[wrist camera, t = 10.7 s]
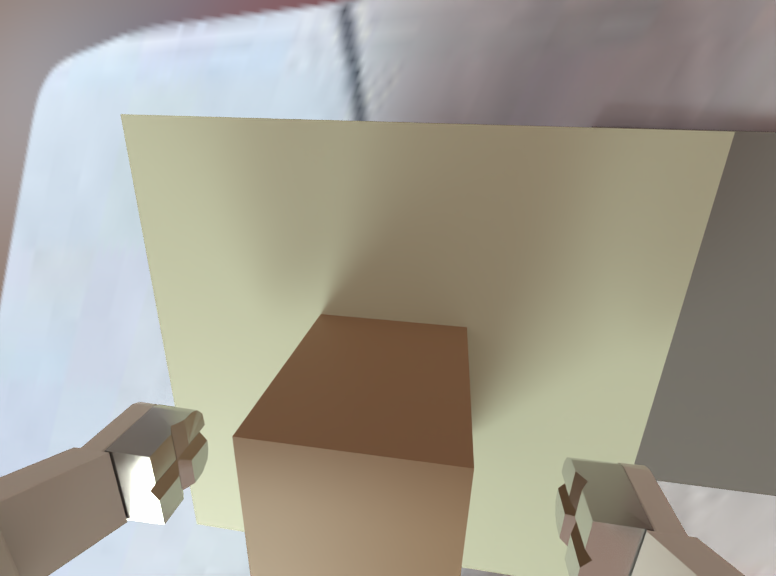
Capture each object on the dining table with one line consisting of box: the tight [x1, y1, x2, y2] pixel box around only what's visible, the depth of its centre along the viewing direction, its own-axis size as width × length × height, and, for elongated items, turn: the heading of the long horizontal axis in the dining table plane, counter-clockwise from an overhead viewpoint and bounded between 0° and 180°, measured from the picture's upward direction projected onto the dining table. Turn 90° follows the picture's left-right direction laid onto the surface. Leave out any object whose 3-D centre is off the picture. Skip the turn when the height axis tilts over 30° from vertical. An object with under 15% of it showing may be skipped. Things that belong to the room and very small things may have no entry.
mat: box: [591, 127, 776, 496], centre depth 20 cm, size 18×18×1 cm
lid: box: [121, 114, 735, 576], centre depth 10 cm, size 14×14×6 cm
